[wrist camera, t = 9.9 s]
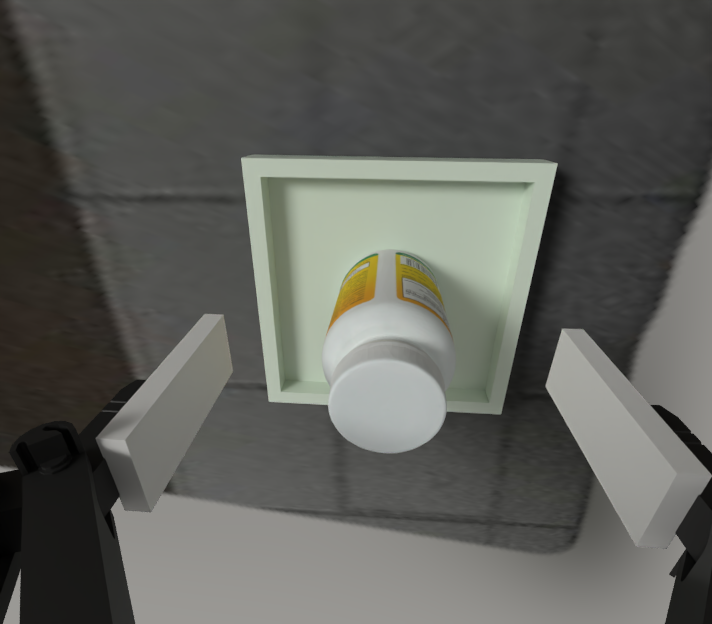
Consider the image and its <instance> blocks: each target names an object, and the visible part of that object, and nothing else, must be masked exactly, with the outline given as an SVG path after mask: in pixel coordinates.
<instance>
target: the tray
mask: <svg viewBox="0 0 712 624" xmlns="http://www.w3.org/2000/svg"><path fill="white" fill-rule="evenodd" d="M241 161H242V169H243V178H244V187H245V196H246V205H247V213H248V222H249V231H250V240H251V249H252V257H253V266H254V275H255V284H256V292H257V301H258V310H259V319H260V328H261V336H262V345H263V354H264V363H265V372H266V380H267V389H268V398H269V402H284V403H302V404H321V405H328V399H329V392H330V386H329V384H328V382H327V380H326V378H325V375H324V371H323V366H322V350H323V344H324V341H325V337H326V334H327V331H328V327H329V324H330V321H331V318H332V315H333V311H334V308H335V305H336V302H337V298H338V295H339V291H340V287H341V285H342V282H343V279H344V277H345V275H346V274H347V272H348V271H349V269H350V268H351V267H352V266H353V265H354V264H355V263H356V262H357V261H358V260H360V259H361V258H362V257H364V256H366V255H367V254H370V253H372V252H376V251H380V250H386V249H394V250H401V251H405V252H408V253H411V254H413V255H415V256H416V257H418V258H420V259H421V260H422V261H423V262H424V263H425V264H427V266H428V267H429V268H430V269H431V270H432V272H433V274H434V275H435V278H436V280H437V283H438V286H439V289H440V293H441V297H442V300H443V304H444V308H445V312H446V315H447V319H448V323H449V326H450V330H451V334H452V337H453V342H454V345H455V351H456V367H455V372H454V376H453V378H452V381H451V383H450V385H449V387H448V389H447V390H446V391H445V395H446V401H447V412H465V413H483V414H501V413H502V408H503V404H504V399H505V395H506V390H507V386H508V382H509V377H510V373H511V368H512V364H513V359H514V355H515V350H516V346H517V342H518V337H519V333H520V328H521V324H522V319H523V315H524V311H525V306H526V302H527V297H528V293H529V288H530V284H531V280H532V275H533V271H534V266H535V262H536V257H537V253H538V249H539V244H540V240H541V235H542V231H543V226H544V222H545V218H546V213H547V209H548V204H549V200H550V195H551V191H552V186H553V182H554V178H555V173H556V169H557V164H558V163H554V162H551V161H547V160H543V159H489V158H429V157H370V156H311V155H250V156H246V157H243V158H241Z"/></svg>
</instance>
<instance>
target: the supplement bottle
mask: <svg viewBox="0 0 712 624" xmlns="http://www.w3.org/2000/svg"><path fill="white" fill-rule="evenodd" d="M322 366H323V371H324V375H325V378H326V380H327V382H328V384H329V386H330V392H329V399H328V408H329V414H330V417H331V420H332V422H333V424H334V425H335V427H336V428H337V430H338V431H339V432H340V433H341V435H342V436H343V437H344V438H346V439H347V440H348V441H350V442H351V443H353V444H355V445H357V446H359V447H361V448H363V449H366V450H370V451H373V452H378V453H399V452H405V451H409V450H412V449H415V448H417V447H419V446H421V445H423V444H425V443H426V442H428V441H429V440H430V439H432V438H433V437H434V436H435V435H436V434H437V432H438V431H439V430H440V428H441V426H442V424H443V422H444V420H445V416H446V412H447V401H446V395H445V391H446V390H447V389H448V387H449V385H450V383H451V381H452V378H453V376H454V372H455V367H456V351H455V345H454V342H453V337H452V334H451V330H450V326H449V323H448V319H447V315H446V312H445V308H444V304H443V300H442V297H441V293H440V289H439V286H438V283H437V280H436V278H435V275H434V274H433V272H432V270H431V269H430V268H429V267H428V266H427V264H425V263H424V262H423V261H422V260H421V259H420V258H418V257H416V256H415V255H413V254H411V253H408V252H405V251H401V250H394V249H386V250H380V251H376V252H372V253H370V254H367V255H366V256H364V257H362V258H361V259H360V260H358V261H357V262H356V263H355V264H354V265H353V266H352V267H351V268H350V269H349V271H348V272H347V274H346V275H345V277H344V279H343V282H342V285H341V287H340V291H339V295H338V298H337V302H336V305H335V308H334V311H333V315H332V318H331V321H330V324H329V327H328V331H327V334H326V337H325V341H324V344H323V350H322Z"/></svg>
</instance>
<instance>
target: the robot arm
mask: <svg viewBox="0 0 712 624" xmlns="http://www.w3.org/2000/svg"><path fill="white" fill-rule="evenodd" d="M232 372H233V368H232V362H231V356H230V350H229V345H228V339H227V333H226V327H225V321H224V315H218V314H204V315H203V316H202V318H201V319H200V320H199V321H198V322H197V323H196V324H195V326H194V327H193V328H192V329H191V330H190V331H189V332H188V334H187V335H186V336H185V337H184V338H183V339H182V340H181V342H180V343H179V344H178V345H177V346H176V347H175V348H174V349H173V351H172V352H171V353H170V354H169V355H168V356H167V357H166V359H165V360H164V361H163V362H162V363H161V364H160V365H159V367H158V368H157V369H156V370H155V371H154V372H153V373H152V375H151V376H150V377H149V378H148V379H147V380H135V381H134V382H132V383H131V384H129V385H128V386H126V387H124V388H123V389H121V390H120V391H119V392H118V394H117V395H116V396H115V397H114V398H113V399H112V400H111V403H108V404H107V405H106V406H105V407H104V408H103V410H102V412H100V413H99V414H98V415H97V416H96V417H95V418H94V419H93V420H92V421H91V422H90V423H89V424H88V426H87V427H86V428H85V429H84V430H83V431H82V432H81V433H80V434H79V435H78V433H77V431H76V429H75V427H74V426H73V424H72V423H69V422H66V421H54V422H50V423H46V424H42V425H40V426H38V427H36V428H33V429H31V430H29V431H28V432H26V433H25V434H23V435H22V436H20V437H19V438H18V439H17V440H16V441H15V442H14V443H13V444H12V447H11V449H10V452H9V453H10V455H11V457H12V458H13V460H14V462H15V464H16V465H17V467H18V469H19V470H14V471H8V472H3V473H0V624H3V621H4V618H5V615H6V612H7V609H8V606H9V603H10V600H11V596H12V594H13V591H14V588H15V585H16V581H17V578H18V575H19V572H20V569H21V587H20V589H21V590H20V592H21V593H20V624H135V620H134V615H133V610H132V605H131V600H130V596H129V590H128V586H127V581H126V576H125V571H124V566H123V561H122V556H121V551H120V546H119V541H118V536H117V531H116V526H115V521H114V517H113V514H112V512H111V508H112V506H113V505H114V503H115V502H116V500H117V499H118V498H119V497H120V500H121V502H122V505H123V507H124V510H129V511H141V512H151V511H152V510H153V508H154V506H155V504H156V503H157V501H158V499H159V498H160V496H161V494H162V493H163V491H164V489H165V487H166V486H167V484H168V482H169V481H170V479H171V477H172V475H173V474H174V472H175V470H176V468H177V467H178V465H179V463H180V462H181V460H182V458H183V456H184V455H185V453H186V451H187V450H188V448H189V446H190V444H191V443H192V441H193V439H194V437H195V436H196V434H197V432H198V431H199V429H200V427H201V425H202V424H203V422H204V420H205V419H206V417H207V415H208V413H209V412H210V410H211V408H212V406H213V405H214V403H215V401H216V400H217V398H218V396H219V394H220V393H221V391H222V389H223V388H224V386H225V384H226V382H227V381H228V379H229V377H230V376H231V374H232ZM545 387H546V388H547V390H548V392H549V394H550V396H551V397H552V399H553V401H554V403H555V404H556V406H557V408H558V410H559V411H560V413H561V415H562V417H563V418H564V420H565V422H566V424H567V425H568V427H569V429H570V431H571V433H572V434H573V436H574V438H575V440H576V441H577V443H578V445H579V447H580V448H581V450H582V452H583V454H584V455H585V457H586V459H587V461H588V462H589V464H590V466H591V468H592V470H593V471H594V473H595V475H596V477H597V478H598V480H599V482H600V484H601V485H602V487H603V489H604V491H605V492H606V494H607V496H608V498H609V500H610V501H611V503H612V505H613V506H614V508H615V510H616V512H617V514H618V515H619V517H620V519H621V521H622V522H623V524H624V526H625V528H626V529H627V531H628V533H629V535H630V537H631V538H632V540H633V542H634V544H635V545H636V547H648V548H649V547H650V548H662V549H667V548H668V546H669V544H670V543H671V541H672V540H673V538H674V536H675V535H676V534H677V536H678V537H679V539H680V540H681V542H682V543H683V545H684V546H685V547H686V550H685V551H684V553H683V555H682V556H681V557H680V559H679V560H678V562H677V563H676V565H675V566H674V568H673V569H672V571H671V572H670V575H671V576H673V577H675V576H676V579H675V583H674V588H673V592H672V596H671V601H670V605H669V609H668V614H667V618H666V622H665V624H712V453H711V452H710V451H709V450H708V449H707V448H706V447H705V446H704V445H702V444H701V441H700V440H699V439H698V438H697V437H696V436H695V435H694V434H691V431H690V430H689V429H688V427H687V426H686V425H684V423H683V422H682V421H681V420H680V419H679V418H678V417H677V416H675V415H674V414H672V413H671V412H669V411H667V410H666V409H665V408H663V407H662V406H660V405H649V403H648V402H647V401H646V400H645V399H644V398H643V397H642V396H641V394H640V393H639V392H638V391H637V390H636V389H635V387H634V386H633V385H632V384H631V383H630V382H629V381H628V380H627V378H626V377H625V376H624V375H623V374H622V373H621V372H620V370H619V369H618V368H617V367H616V366H615V365H614V364H613V363H612V361H611V360H610V359H609V358H608V357H607V356H606V355H605V353H604V352H603V351H602V350H601V349H600V348H599V347H598V346H597V344H596V343H595V342H594V341H593V340H592V339H591V338H590V337H589V335H588V334H587V333H586V332H585V331H584V330H583V329H562V331H561V335H560V338H559V342H558V345H557V349H556V352H555V355H554V359H553V362H552V366H551V369H550V372H549V376H548V379H547V383H546V386H545Z"/></svg>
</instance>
